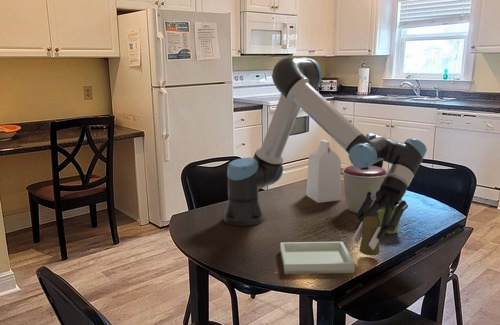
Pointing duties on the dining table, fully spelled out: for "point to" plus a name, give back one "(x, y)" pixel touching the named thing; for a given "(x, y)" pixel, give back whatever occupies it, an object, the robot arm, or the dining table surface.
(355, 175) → the canister
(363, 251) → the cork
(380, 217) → the plant pot
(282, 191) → the dining table surface
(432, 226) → the dining table surface
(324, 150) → the milk
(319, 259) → the tray
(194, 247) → the dining table surface
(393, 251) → the dining table surface
